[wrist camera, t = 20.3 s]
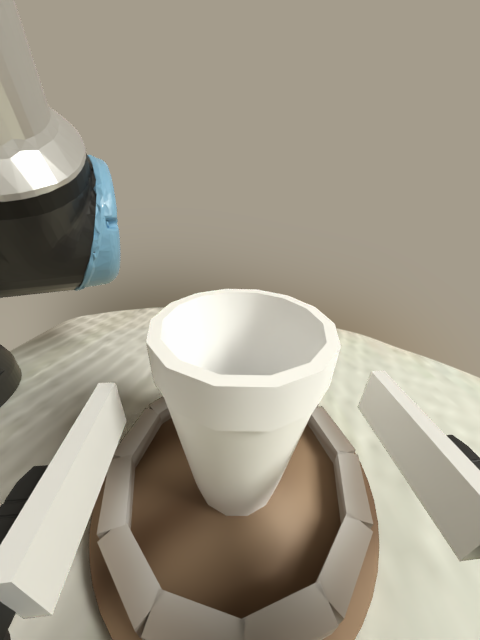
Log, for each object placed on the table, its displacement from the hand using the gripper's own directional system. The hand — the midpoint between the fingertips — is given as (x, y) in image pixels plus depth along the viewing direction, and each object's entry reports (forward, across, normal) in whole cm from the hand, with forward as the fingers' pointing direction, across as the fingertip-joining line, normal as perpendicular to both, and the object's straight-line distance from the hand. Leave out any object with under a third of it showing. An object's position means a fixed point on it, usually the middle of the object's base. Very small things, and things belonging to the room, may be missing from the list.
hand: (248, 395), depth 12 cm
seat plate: (+2, 0, -10) cm, 11 cm away
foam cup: (+2, 0, -10) cm, 10 cm away
